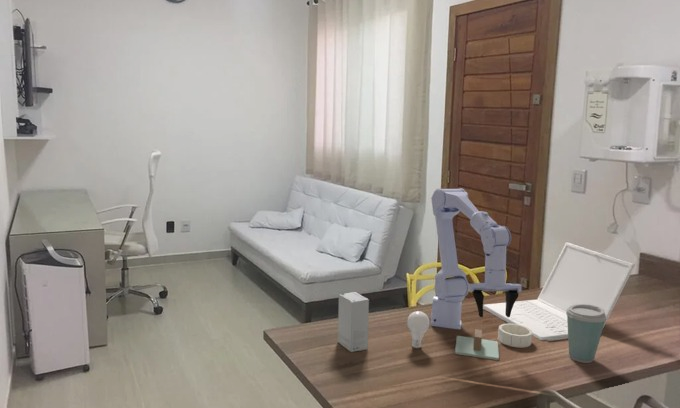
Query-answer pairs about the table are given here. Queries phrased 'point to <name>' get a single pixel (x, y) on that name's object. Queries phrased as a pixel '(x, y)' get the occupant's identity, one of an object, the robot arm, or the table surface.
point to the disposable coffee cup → (584, 331)
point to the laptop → (569, 292)
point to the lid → (477, 346)
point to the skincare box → (353, 321)
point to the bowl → (515, 335)
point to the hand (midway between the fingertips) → (494, 316)
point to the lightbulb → (417, 327)
